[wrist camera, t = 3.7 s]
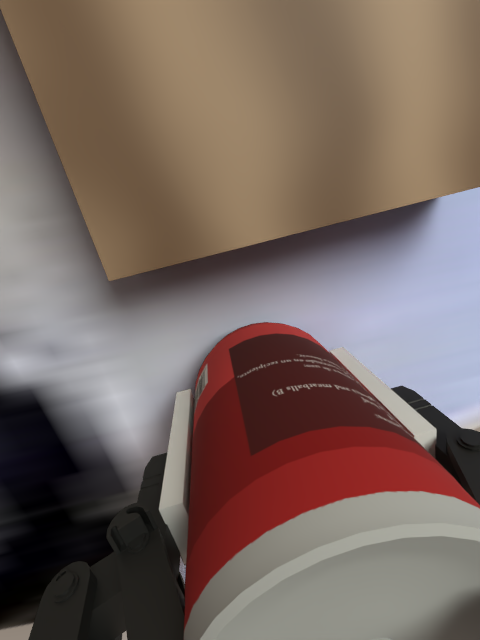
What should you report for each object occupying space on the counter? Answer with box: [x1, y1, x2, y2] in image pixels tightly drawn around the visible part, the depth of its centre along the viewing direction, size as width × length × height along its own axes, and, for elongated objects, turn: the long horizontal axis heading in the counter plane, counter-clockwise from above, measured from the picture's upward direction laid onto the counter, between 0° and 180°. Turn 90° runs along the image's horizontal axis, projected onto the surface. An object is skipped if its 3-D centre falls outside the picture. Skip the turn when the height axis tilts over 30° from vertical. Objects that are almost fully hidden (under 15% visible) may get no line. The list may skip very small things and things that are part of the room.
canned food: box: [184, 322, 480, 640], centre depth 11 cm, size 8×8×11 cm
